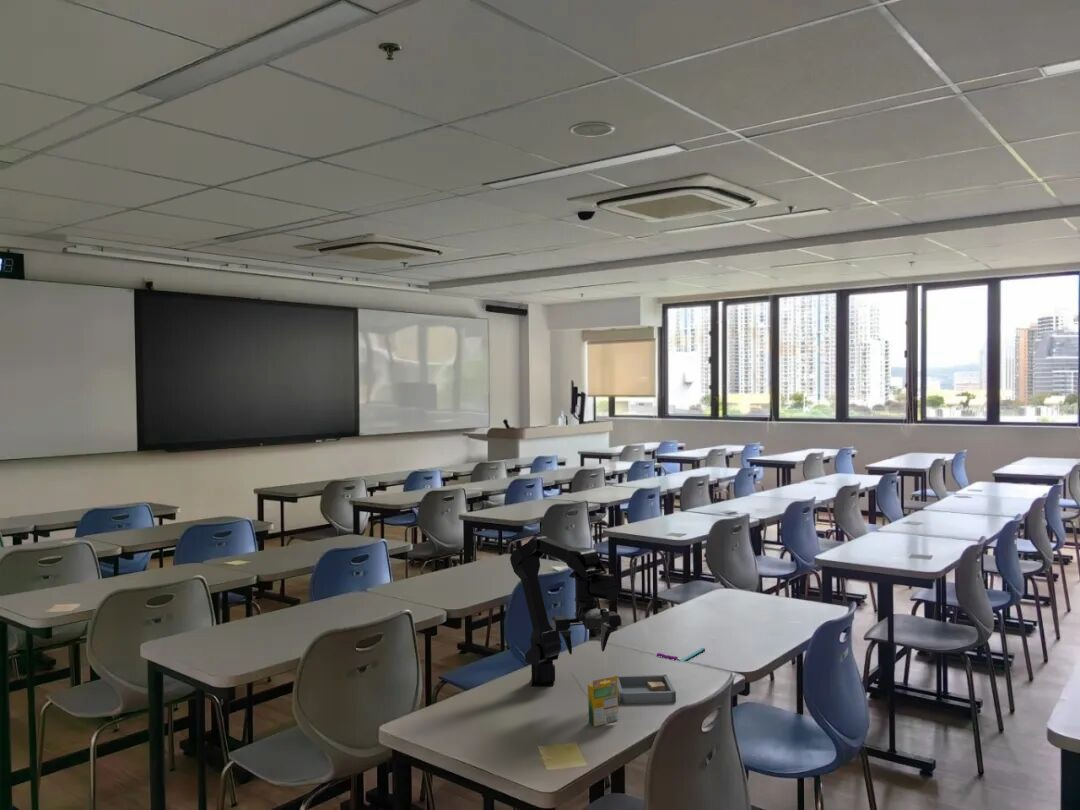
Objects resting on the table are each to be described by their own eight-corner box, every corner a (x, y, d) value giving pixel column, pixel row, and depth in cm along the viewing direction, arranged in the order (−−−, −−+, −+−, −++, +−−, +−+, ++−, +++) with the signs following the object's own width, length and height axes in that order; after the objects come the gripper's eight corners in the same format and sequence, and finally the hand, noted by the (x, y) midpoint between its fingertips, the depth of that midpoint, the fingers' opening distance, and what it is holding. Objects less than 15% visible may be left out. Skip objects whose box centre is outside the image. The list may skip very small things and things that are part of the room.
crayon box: (612, 717, 204) (612, 672, 205) (618, 721, 202) (618, 676, 202) (588, 722, 201) (587, 677, 201) (593, 727, 199) (592, 680, 199)
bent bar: (677, 642, 264) (704, 647, 258) (677, 647, 264) (705, 652, 258) (631, 667, 242) (660, 673, 235) (631, 672, 242) (660, 679, 235)
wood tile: (652, 691, 221) (652, 686, 221) (647, 686, 225) (647, 682, 225) (665, 689, 222) (665, 685, 222) (660, 685, 226) (660, 680, 226)
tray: (620, 705, 213) (619, 693, 213) (614, 686, 227) (614, 675, 227) (675, 703, 213) (675, 692, 213) (666, 685, 227) (666, 674, 227)
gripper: (560, 604, 208) (561, 664, 207) (627, 599, 212) (629, 658, 212) (549, 595, 219) (551, 652, 218) (614, 590, 223) (615, 646, 223)
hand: (586, 652), depth 217 cm, fingers open, 9 cm apart
